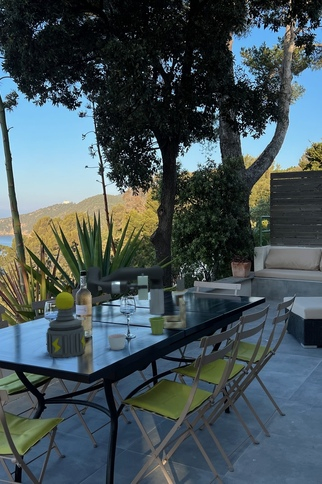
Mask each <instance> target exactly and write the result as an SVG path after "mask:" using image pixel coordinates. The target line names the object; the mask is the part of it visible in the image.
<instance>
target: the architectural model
mask: <svg viewBox="0 0 322 484" xmlns="http://www.w3.org/2000/svg"><path fill="white" fill-rule="evenodd" d="M188 291H189V290H188V289H187V288H185V277H183V278H182V279H181V278H180V277H178V278H177V279H176V290H174V291H173V292H171V296H174V297H175V300H174V301H175V302H174V304H175V307H178V306H179V298H183V299H184V295H185V294H186V293H187V292H188Z"/></svg>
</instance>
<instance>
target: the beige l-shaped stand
mask: <svg viewBox="0 0 322 484" xmlns="http://www.w3.org/2000/svg"><path fill="white" fill-rule="evenodd" d="M178 306H179V314H178V315H163V316H162V317H164V318H165V320H164V326H163V329H184V328H187V317H186V314H187V313H186V312H187V311H186V302H185V301H184V297H183V298H179V305H178Z"/></svg>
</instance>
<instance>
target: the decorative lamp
mask: <svg viewBox="0 0 322 484" xmlns="http://www.w3.org/2000/svg"><path fill="white" fill-rule="evenodd" d="M54 303H55V304H54V305H55V306H56V308H57V313H56V316H57V317H55V319H53V320H52V321H50V322H49V323H48V328H47V329H46V330H47V331H46V336H45V337H46V351H47V353H48V355H49V357H52V358H57V359H66V358H73V357H74V358H75V357H78V356H81V355H83V354H84V353H85V350H86V330H85V328H84V325H82V320H81V319H79V318H75V316H74V312H73V309H72V308H73V306H74V303H75V299H74V297H73V295H72V293H70V292H67V291H64V292H63V291H61V292H60V293H59V294H57V296H56V297H55V300H54Z"/></svg>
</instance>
